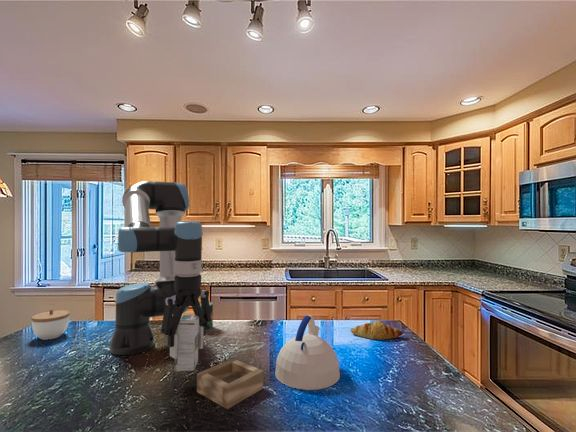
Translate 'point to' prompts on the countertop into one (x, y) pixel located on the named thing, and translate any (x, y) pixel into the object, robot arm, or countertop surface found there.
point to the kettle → (307, 360)
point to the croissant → (376, 331)
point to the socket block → (229, 382)
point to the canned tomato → (210, 324)
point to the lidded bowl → (50, 324)
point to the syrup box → (187, 343)
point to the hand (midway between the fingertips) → (186, 351)
